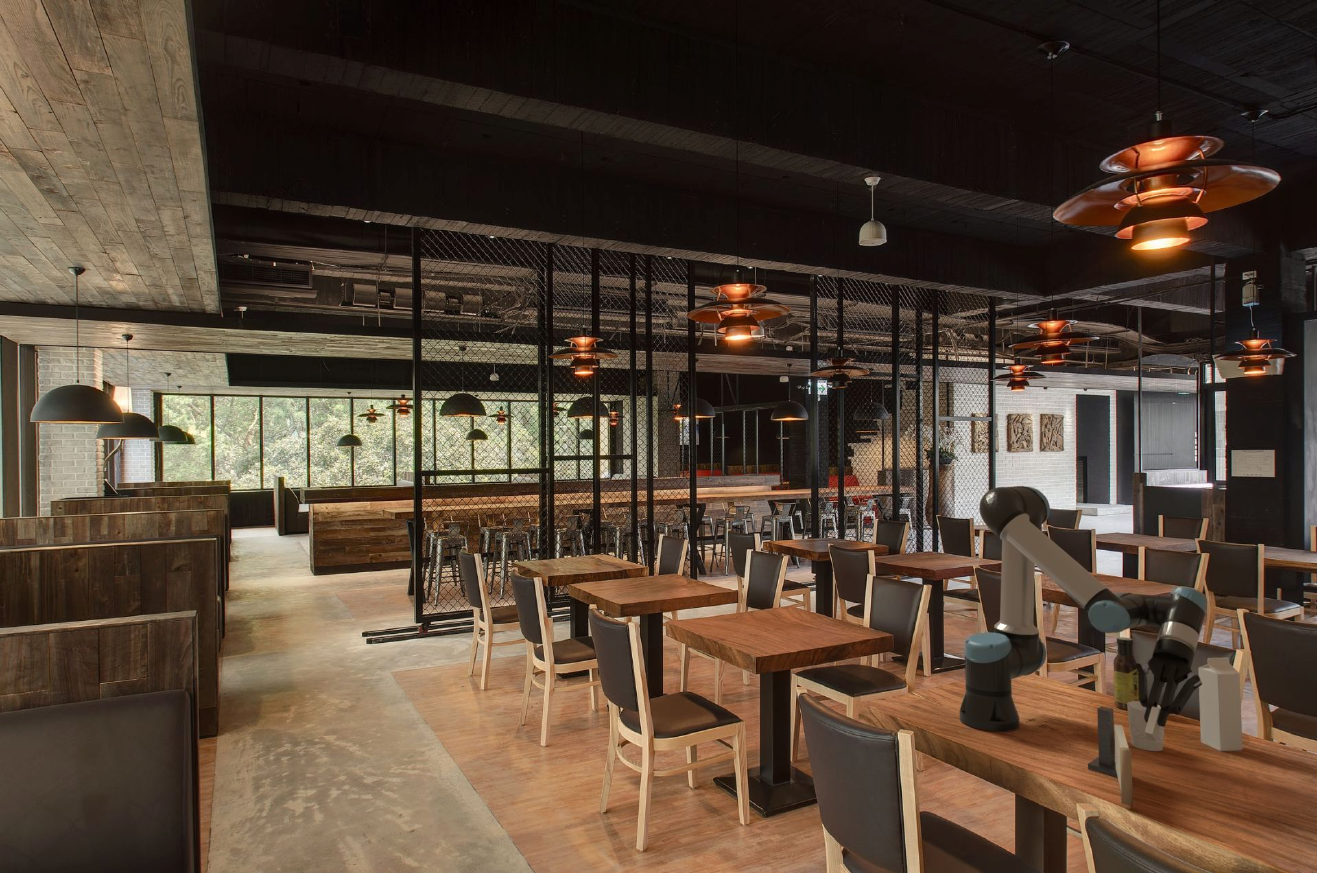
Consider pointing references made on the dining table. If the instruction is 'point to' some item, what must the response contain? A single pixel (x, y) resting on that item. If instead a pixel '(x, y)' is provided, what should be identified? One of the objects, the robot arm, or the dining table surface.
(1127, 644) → the sauce bottle
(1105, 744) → the gate post
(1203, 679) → the milk
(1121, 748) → the gate panel
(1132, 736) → the white cup
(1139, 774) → the dining table surface
